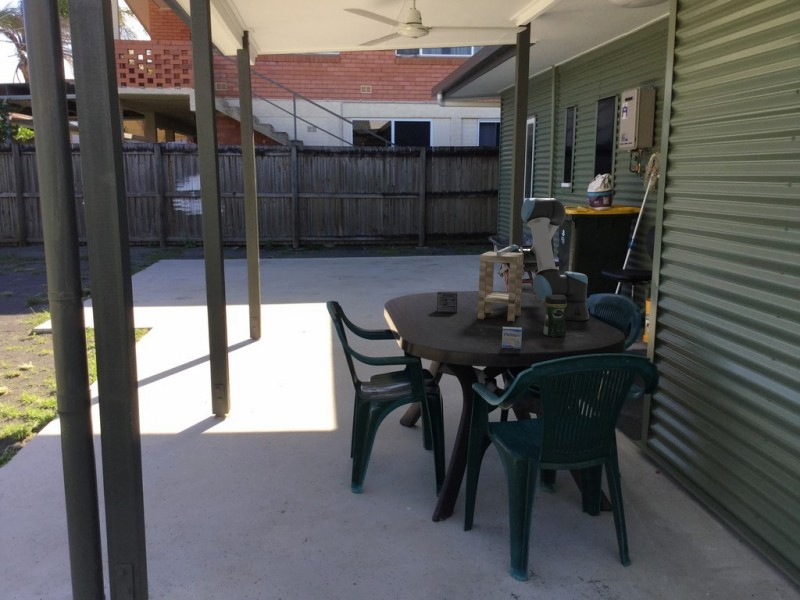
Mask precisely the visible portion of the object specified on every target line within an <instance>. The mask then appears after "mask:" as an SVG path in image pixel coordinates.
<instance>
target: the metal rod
mask: <svg viewBox="0 0 800 600" xmlns="http://www.w3.org/2000/svg"><path fill="white" fill-rule="evenodd" d="M510 251H512V247H508V246H507V247H504V248H501V249H498V251H497V255H496V256H502V255H504V254H506V253H508V252H510Z"/></svg>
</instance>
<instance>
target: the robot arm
mask: <svg viewBox="0 0 800 600" xmlns="http://www.w3.org/2000/svg"><path fill="white" fill-rule="evenodd" d="M520 212H521V214H520V215H521V220H522V221H524V222H526V225H527V226H528V228H529V229H530V231H531V236H532V240H533V241H532V245H531V247H530V248H523V246H520V247H519V245H516V244H511V245H509V246H507V247H512V251H510V252H509V253H524V255H523V265H525V264H526V263H536V265H537V272H536V273H535V276H534V278H533V279H532V286H533V290H534V293H535V295H536V296H537V297H538V298H540V299H545V298H546V295H564V296H566V298H567V306H566V309H565V321H574V322H576V321H578V322H580V321H582V322H583V321H587V320H589V318H590V313H589V310H588V305H587V298H588V297H587V294H588V284H589V282H588V276H587V275H586V274H584V273H581V272H575V271H564V272H563V274H561V273H560V269H559V268H557V267H556V263H555V262H556V261H555V258H554V257H555V256H554V253H553V252H554V251H553V247H552V242H551V240H552V239H553V237H554V235H555V233H556V232H557V229H559V227H560V226H562V225H563V223H564V221H565V219H566V216H567V215H566V214H567V213H566V207H565V205H564V203H563V202H562V201H560V200H559V199H557V198H553V197H548V198H546V197H543V198H542V197H532V198H531V197H530V198H526V199H525V200H524V201H523V204H522V207H521V211H520ZM497 251H499V249H498V247H497V245H494V249H493V250H492V251H491V252H497ZM505 264H506V266H507V268H508V270H509V272H510V263H505ZM525 275H526V273H525V270H524V268H523V276H522V280H523V279H524V278H525Z"/></svg>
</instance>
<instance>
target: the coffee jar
mask: <svg viewBox="0 0 800 600" xmlns="http://www.w3.org/2000/svg"><path fill="white" fill-rule="evenodd" d="M544 299H545V300H544V306H545V317H544V323H543V324H544V325H543V330H542V331H543V335H544V336H546V337H550V336H552V337H553V338H558V336H561V337H565V336H566V333H567V330H566V320H565V309H566V306H567V298H566V296H564V295H546V298H544ZM556 336H557V337H556ZM552 337H551V338H552Z"/></svg>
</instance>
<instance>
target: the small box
mask: <svg viewBox="0 0 800 600" xmlns="http://www.w3.org/2000/svg"><path fill="white" fill-rule="evenodd" d="M436 294H437V296H436V297H437V298H436V299H437V300H436V301H437V302H436V303H437V304H436V313H439V314H442V313H443V314H458V291H437V293H436Z"/></svg>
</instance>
